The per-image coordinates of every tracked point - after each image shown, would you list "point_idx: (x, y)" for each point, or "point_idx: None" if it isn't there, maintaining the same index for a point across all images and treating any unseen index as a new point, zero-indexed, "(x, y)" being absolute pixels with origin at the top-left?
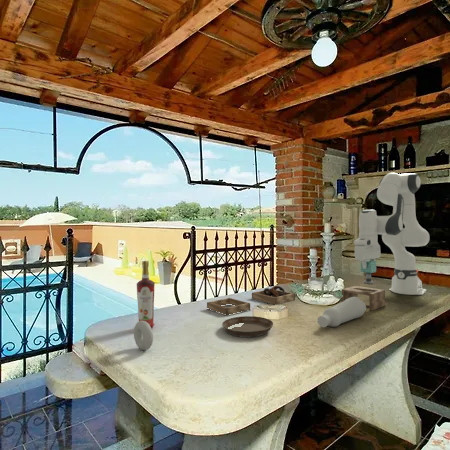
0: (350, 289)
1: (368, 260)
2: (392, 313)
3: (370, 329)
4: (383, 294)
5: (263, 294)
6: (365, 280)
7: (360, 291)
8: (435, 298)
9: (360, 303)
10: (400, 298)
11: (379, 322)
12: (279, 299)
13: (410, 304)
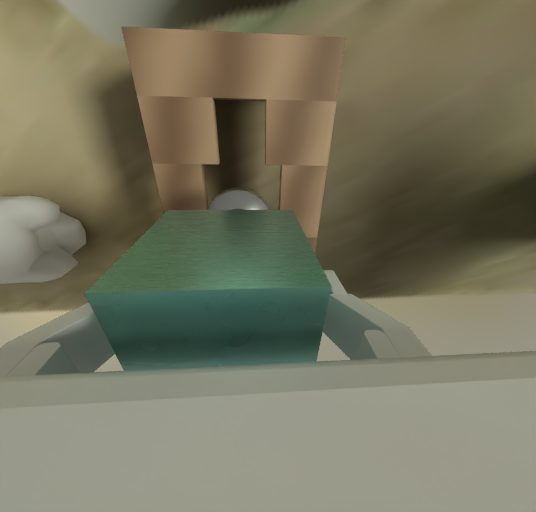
0: (177, 96)
1: (308, 332)
2: None
3: (19, 305)
4: None
5: None
6: (247, 197)
7: (179, 184)
8: (504, 285)
9: (10, 282)
10: (461, 212)
11: None
12: None
13: (372, 269)
